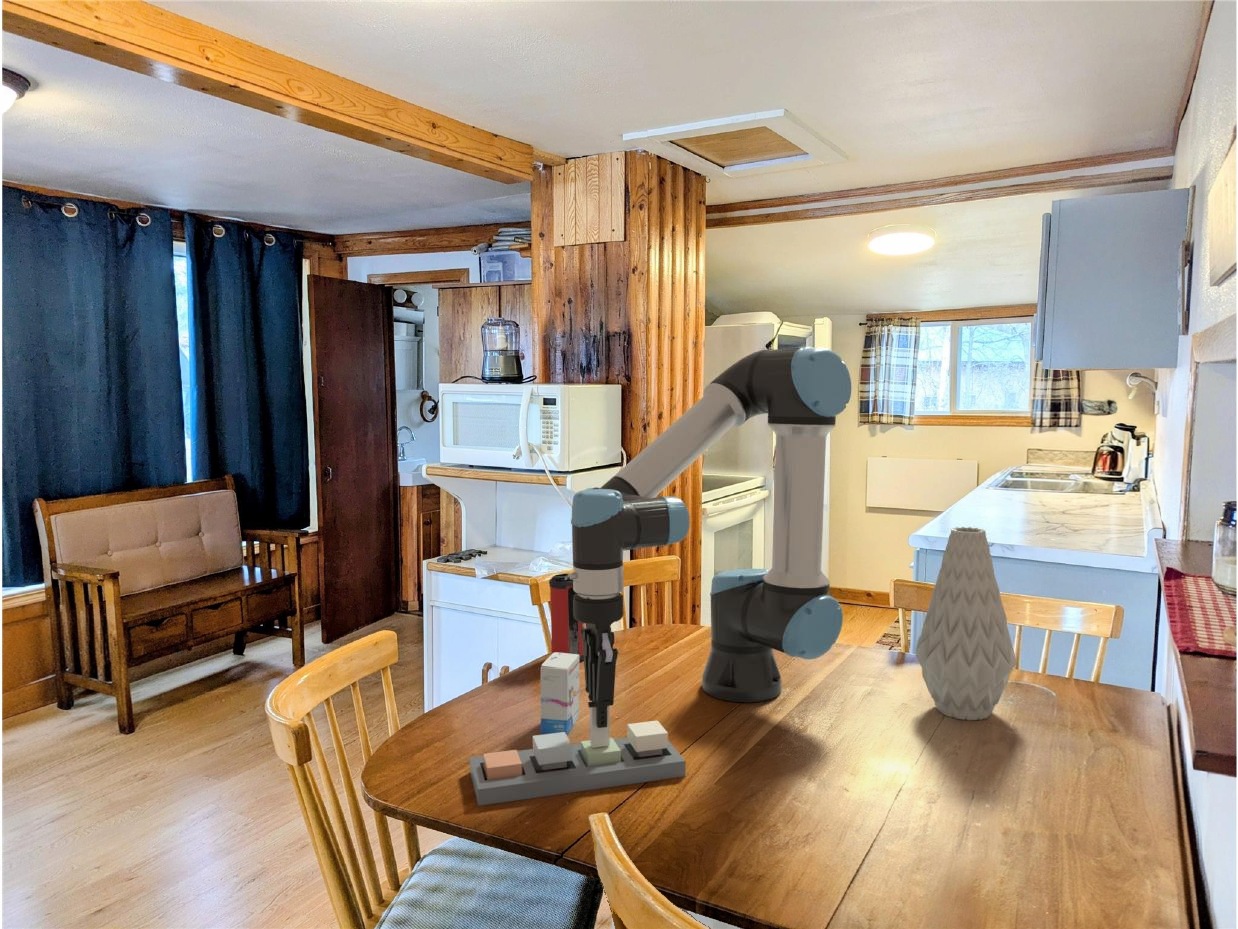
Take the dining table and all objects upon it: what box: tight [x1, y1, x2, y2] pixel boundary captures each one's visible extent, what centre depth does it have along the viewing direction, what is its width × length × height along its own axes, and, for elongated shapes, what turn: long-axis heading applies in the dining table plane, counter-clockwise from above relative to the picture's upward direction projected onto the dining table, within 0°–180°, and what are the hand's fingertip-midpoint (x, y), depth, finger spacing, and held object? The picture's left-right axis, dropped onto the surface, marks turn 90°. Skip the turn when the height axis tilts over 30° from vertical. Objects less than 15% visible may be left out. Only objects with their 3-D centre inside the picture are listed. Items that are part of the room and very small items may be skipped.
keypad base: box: [469, 736, 686, 807], centre depth 131 cm, size 31×11×2 cm, turn 106°
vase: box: [914, 526, 1018, 721], centre depth 152 cm, size 17×17×33 cm
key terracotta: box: [482, 749, 522, 780], centre depth 128 cm, size 5×5×4 cm
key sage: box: [580, 736, 621, 767], centre depth 132 cm, size 5×5×4 cm
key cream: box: [626, 720, 669, 758], centre depth 133 cm, size 5×5×4 cm
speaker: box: [548, 572, 586, 662], centre depth 184 cm, size 8×8×18 cm
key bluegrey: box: [532, 732, 573, 771], centre depth 129 cm, size 5×5×4 cm
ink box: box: [540, 652, 580, 736], centre depth 149 cm, size 9×5×12 cm, turn 168°
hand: (599, 744), depth 131 cm, fingers closed
